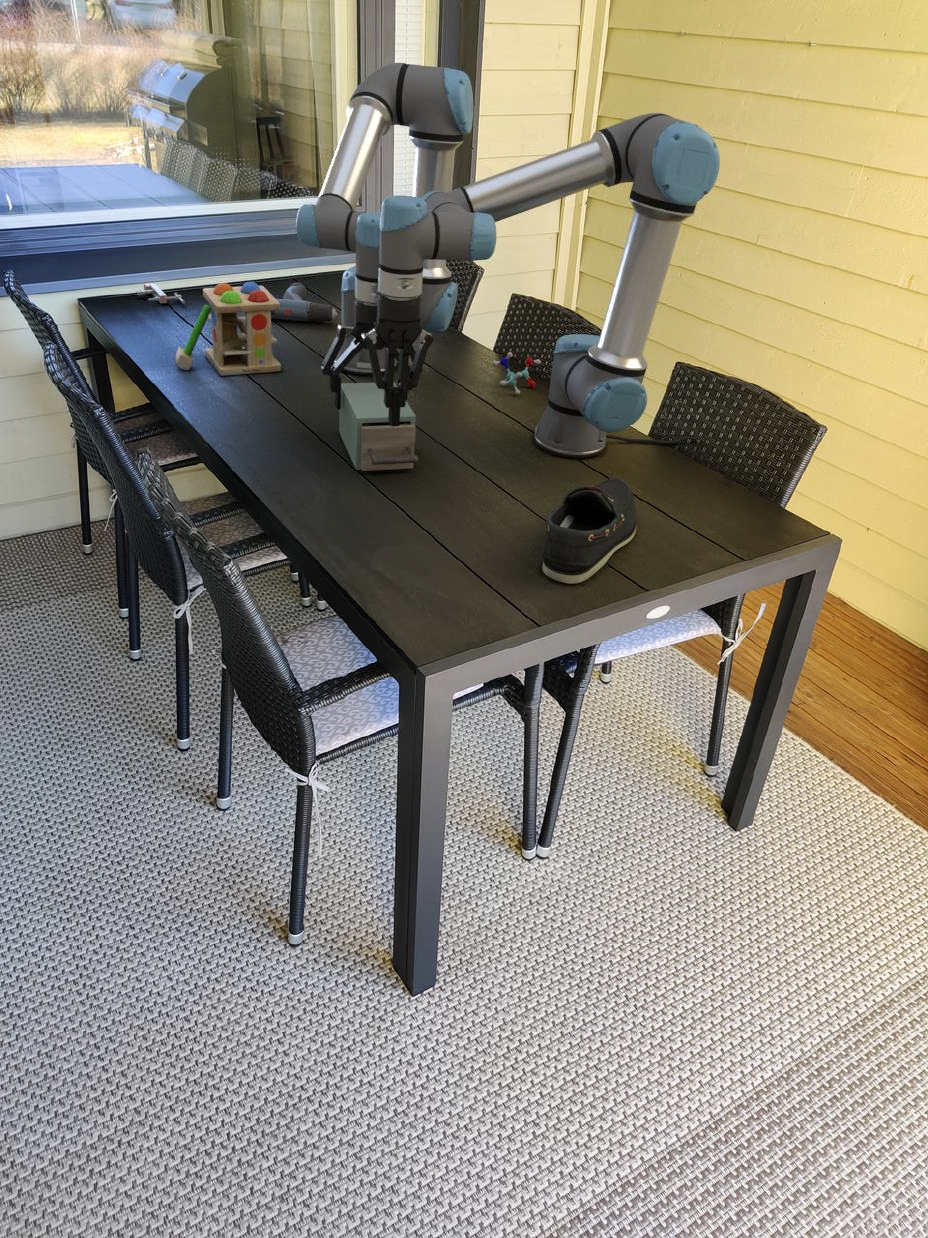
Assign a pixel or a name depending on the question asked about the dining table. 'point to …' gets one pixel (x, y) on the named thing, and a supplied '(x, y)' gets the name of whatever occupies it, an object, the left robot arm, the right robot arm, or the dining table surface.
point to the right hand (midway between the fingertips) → (393, 423)
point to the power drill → (301, 307)
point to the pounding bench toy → (229, 347)
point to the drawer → (387, 446)
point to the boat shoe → (588, 530)
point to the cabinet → (364, 414)
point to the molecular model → (511, 375)
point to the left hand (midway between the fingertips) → (370, 406)
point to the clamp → (158, 294)
